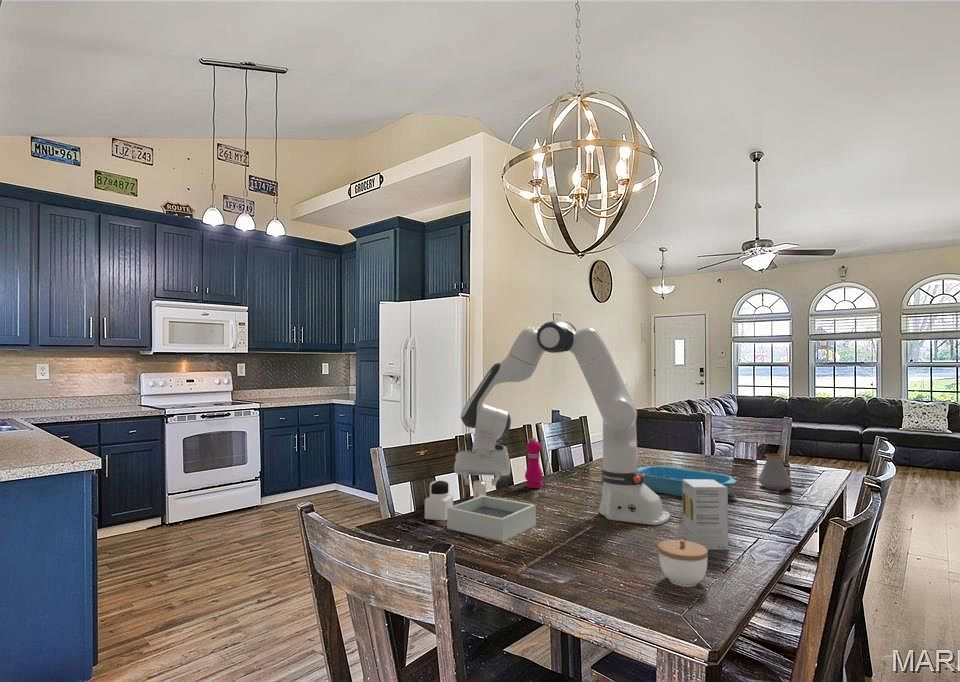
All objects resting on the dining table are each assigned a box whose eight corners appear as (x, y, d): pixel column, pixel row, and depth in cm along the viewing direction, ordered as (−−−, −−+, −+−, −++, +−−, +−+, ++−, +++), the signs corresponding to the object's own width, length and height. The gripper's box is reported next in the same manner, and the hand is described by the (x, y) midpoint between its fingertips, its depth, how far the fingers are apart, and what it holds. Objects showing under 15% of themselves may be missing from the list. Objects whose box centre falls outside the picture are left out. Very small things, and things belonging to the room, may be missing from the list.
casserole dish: (743, 493, 202) (742, 474, 202) (727, 506, 185) (727, 485, 185) (648, 480, 225) (648, 463, 225) (626, 490, 208) (626, 472, 208)
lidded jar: (657, 570, 128) (657, 530, 129) (705, 575, 125) (704, 534, 126) (659, 588, 118) (658, 545, 119) (711, 594, 115) (710, 550, 115)
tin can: (488, 507, 184) (488, 481, 184) (481, 510, 180) (481, 484, 180) (478, 505, 186) (478, 479, 187) (470, 508, 183) (470, 482, 183)
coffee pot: (788, 493, 201) (787, 453, 202) (755, 488, 209) (754, 450, 210) (799, 483, 218) (798, 446, 218) (768, 479, 225) (767, 443, 226)
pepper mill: (542, 489, 209) (541, 438, 210) (524, 488, 210) (523, 438, 211) (543, 485, 216) (543, 436, 217) (526, 484, 217) (525, 435, 218)
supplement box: (682, 538, 151) (681, 478, 152) (714, 538, 151) (713, 478, 152) (694, 550, 142) (693, 486, 142) (729, 550, 141) (728, 486, 142)
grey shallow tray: (529, 525, 161) (529, 515, 161) (501, 539, 148) (501, 528, 149) (483, 515, 171) (483, 506, 171) (454, 527, 158) (454, 517, 159)
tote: (536, 528, 161) (535, 505, 161) (503, 545, 146) (502, 519, 147) (482, 517, 173) (482, 495, 173) (447, 531, 158) (447, 508, 158)
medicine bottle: (453, 517, 173) (453, 480, 173) (445, 523, 166) (445, 485, 166) (433, 515, 175) (433, 478, 175) (424, 521, 168) (424, 483, 169)
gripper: (455, 445, 195) (450, 478, 185) (510, 446, 192) (508, 480, 182) (457, 455, 199) (452, 488, 189) (511, 456, 196) (509, 490, 186)
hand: (480, 484), depth 186 cm, fingers open, 8 cm apart
